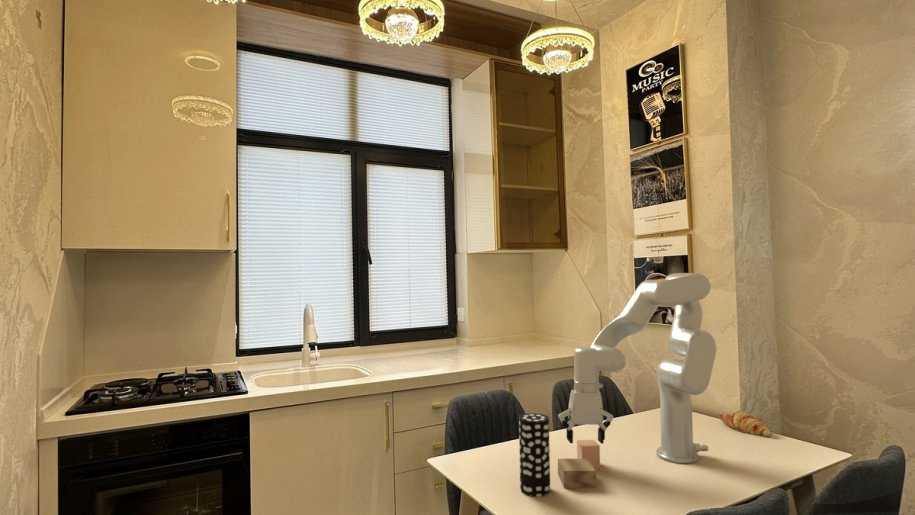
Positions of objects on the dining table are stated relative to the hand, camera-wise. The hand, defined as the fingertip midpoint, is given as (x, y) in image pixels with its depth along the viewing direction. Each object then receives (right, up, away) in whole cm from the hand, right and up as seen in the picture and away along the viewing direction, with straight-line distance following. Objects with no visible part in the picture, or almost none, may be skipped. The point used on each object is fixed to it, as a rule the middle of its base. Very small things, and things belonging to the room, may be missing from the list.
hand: (585, 442), depth 152 cm
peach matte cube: (+1, -7, 0) cm, 7 cm away
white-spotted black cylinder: (-19, -7, -17) cm, 26 cm away
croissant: (+69, -8, +32) cm, 76 cm away
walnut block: (-6, -7, -11) cm, 15 cm away
